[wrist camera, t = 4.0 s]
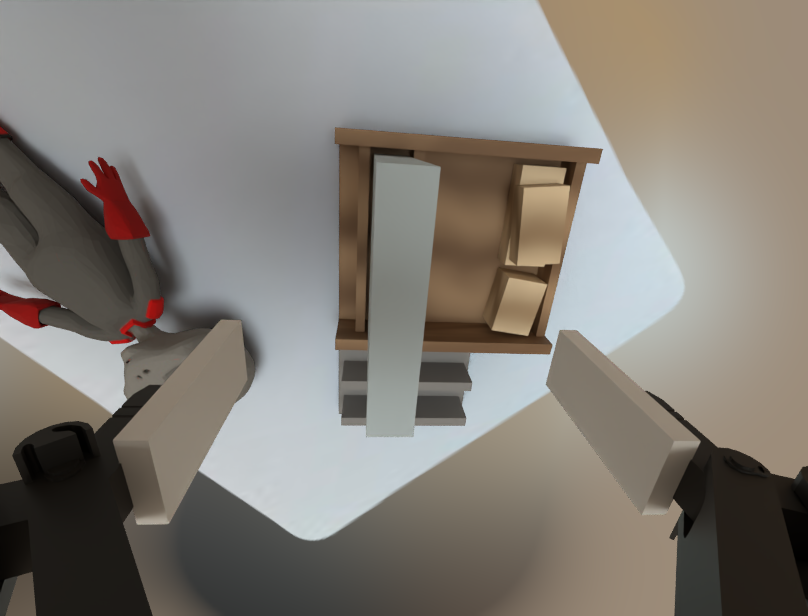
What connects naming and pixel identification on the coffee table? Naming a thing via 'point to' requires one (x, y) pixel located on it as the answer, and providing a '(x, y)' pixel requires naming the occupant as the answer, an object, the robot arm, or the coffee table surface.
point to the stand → (436, 388)
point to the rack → (449, 234)
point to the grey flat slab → (398, 289)
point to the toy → (89, 268)
